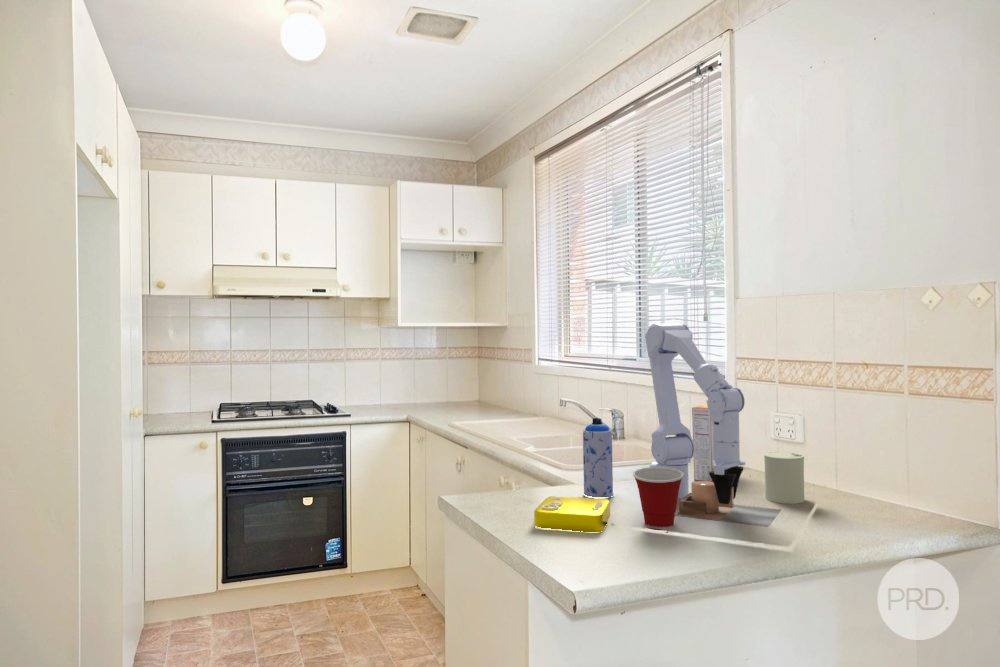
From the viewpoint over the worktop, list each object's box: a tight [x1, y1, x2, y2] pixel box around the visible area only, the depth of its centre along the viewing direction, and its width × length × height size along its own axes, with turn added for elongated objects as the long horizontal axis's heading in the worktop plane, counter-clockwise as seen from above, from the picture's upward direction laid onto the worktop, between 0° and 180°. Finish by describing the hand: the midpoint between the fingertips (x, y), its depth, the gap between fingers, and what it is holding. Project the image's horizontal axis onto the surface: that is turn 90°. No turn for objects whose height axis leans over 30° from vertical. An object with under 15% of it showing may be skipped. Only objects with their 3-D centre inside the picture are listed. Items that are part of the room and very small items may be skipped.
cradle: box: [675, 492, 782, 528], centre depth 161 cm, size 16×20×3 cm
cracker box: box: [691, 402, 714, 482], centre depth 203 cm, size 14×6×21 cm, turn 144°
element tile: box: [533, 495, 611, 532], centre depth 158 cm, size 15×15×5 cm
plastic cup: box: [632, 466, 684, 531], centre depth 153 cm, size 11×11×12 cm
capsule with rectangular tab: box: [690, 481, 735, 513], centre depth 163 cm, size 6×9×6 cm, turn 59°
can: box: [763, 451, 806, 505], centre depth 173 cm, size 9×9×12 cm
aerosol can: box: [582, 417, 614, 497], centre depth 183 cm, size 8×8×20 cm
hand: (727, 500), depth 161 cm, fingers open, 5 cm apart
